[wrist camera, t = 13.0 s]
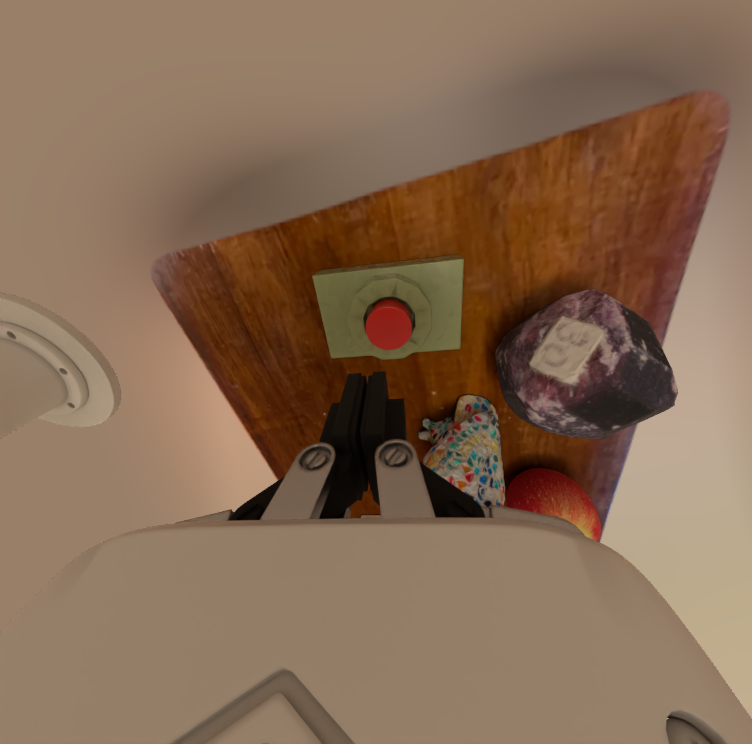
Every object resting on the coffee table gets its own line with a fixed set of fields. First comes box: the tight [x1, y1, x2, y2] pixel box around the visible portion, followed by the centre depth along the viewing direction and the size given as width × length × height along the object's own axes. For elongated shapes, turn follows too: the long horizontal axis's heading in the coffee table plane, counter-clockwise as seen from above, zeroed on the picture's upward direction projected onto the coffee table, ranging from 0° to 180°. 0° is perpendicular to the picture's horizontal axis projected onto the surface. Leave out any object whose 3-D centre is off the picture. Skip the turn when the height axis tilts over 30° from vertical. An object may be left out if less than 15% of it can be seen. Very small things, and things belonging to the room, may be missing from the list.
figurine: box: [418, 394, 505, 507], centre depth 23 cm, size 9×9×15 cm
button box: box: [312, 255, 464, 360], centre depth 21 cm, size 11×7×4 cm, turn 97°
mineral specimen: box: [495, 289, 678, 439], centre depth 20 cm, size 10×10×10 cm
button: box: [366, 299, 412, 350], centre depth 19 cm, size 3×3×2 cm
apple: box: [506, 468, 601, 541], centre depth 28 cm, size 8×8×10 cm
